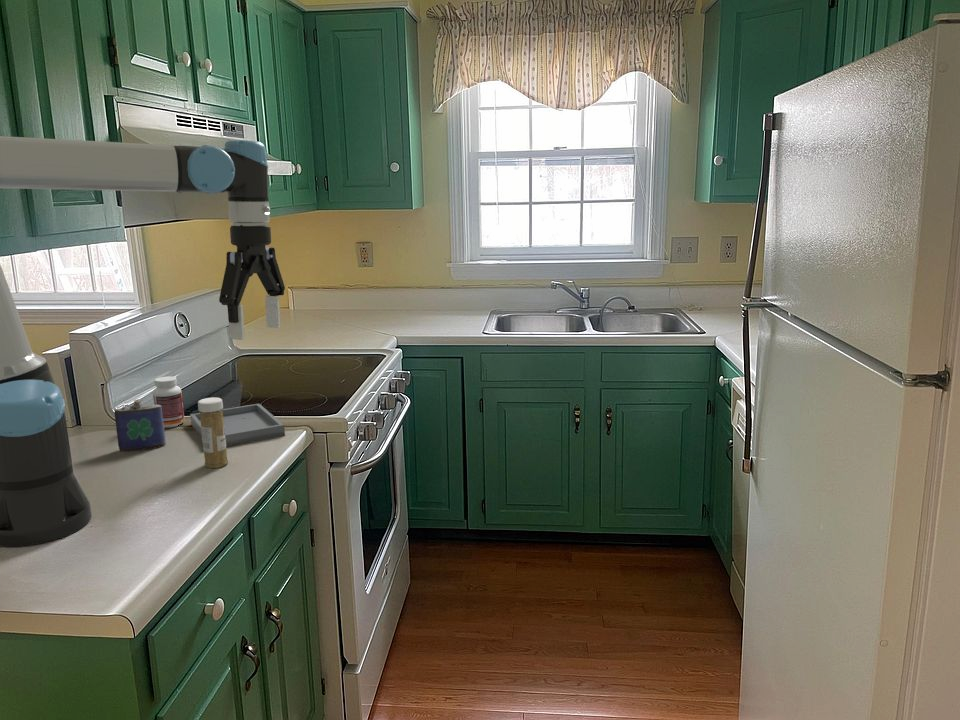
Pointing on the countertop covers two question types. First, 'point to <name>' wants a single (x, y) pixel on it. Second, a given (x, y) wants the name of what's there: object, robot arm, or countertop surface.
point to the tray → (245, 424)
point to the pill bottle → (169, 400)
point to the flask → (139, 427)
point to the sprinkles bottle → (213, 432)
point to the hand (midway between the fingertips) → (256, 333)
